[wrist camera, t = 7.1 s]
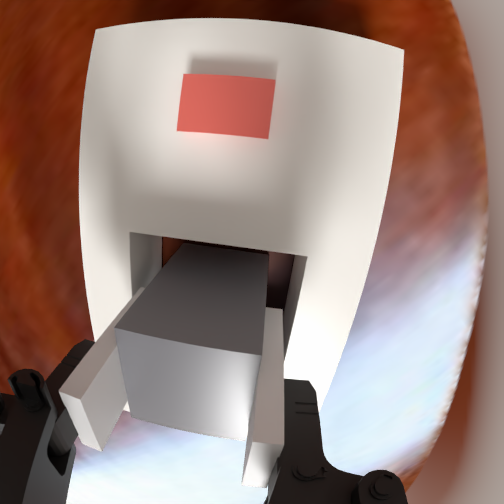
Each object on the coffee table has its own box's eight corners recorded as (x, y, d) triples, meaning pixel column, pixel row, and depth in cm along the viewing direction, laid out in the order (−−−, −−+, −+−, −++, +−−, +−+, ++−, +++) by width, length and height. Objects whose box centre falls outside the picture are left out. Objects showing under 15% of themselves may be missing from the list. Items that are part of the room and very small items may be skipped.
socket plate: (134, 49, 12) (85, 24, 8) (372, 70, 12) (412, 44, 7) (132, 366, 19) (106, 414, 15) (302, 395, 19) (306, 451, 15)
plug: (183, 242, 16) (114, 327, 8) (269, 254, 16) (261, 355, 8) (181, 315, 17) (131, 417, 10) (257, 327, 17) (245, 441, 10)
